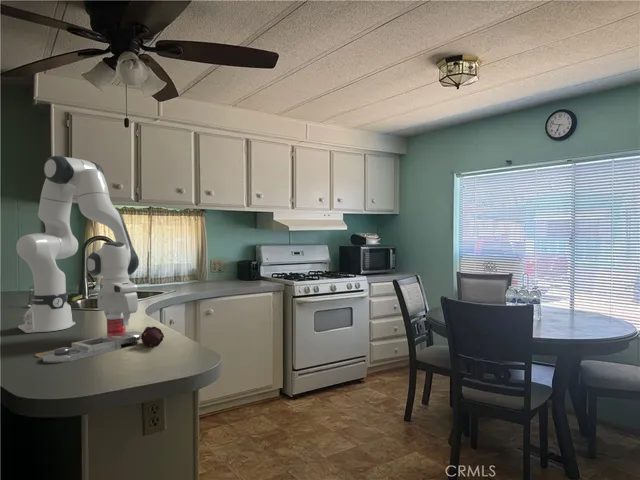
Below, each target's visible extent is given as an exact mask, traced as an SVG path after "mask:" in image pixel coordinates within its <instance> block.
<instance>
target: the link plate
mask: <svg viewBox="0 0 640 480" xmlns="http://www.w3.org/2000/svg"><path fill="white" fill-rule="evenodd" d="M54 350H55V349H53V350H48V351H42V352H39V353H38V352H37V353H35V355H34V356H35V357H36V358H40V359H42V358H43V355H45V354H47V353H50V352H54Z"/></svg>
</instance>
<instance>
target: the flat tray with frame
mask: <svg viewBox="0 0 640 480" xmlns="http://www.w3.org/2000/svg"><path fill="white" fill-rule="evenodd" d="M142 333H143V332H142V331H126V332H122V333H117V334H112V335H107V334H106V335H103V336H100V337H94V338H89V339H84V340H79V341H75V342H71V347H67V346H65V347H58V348H55V349H53V350H54V352H50V353H47V354H45V355H43V357H42V363H44V364H63V363H68V362H72V361H76V360H81V359H85V358H89V357H93V356H97V355H102V354H105V353H110V352H113V351H117V350H121V349H122V346H130V345H136V344H137V343H138V341H139V340H142V339H141V335H142Z"/></svg>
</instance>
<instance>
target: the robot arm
mask: <svg viewBox="0 0 640 480" xmlns="http://www.w3.org/2000/svg"><path fill="white" fill-rule="evenodd" d="M43 173H44V176H45V177H46V178H45V180H44V183H43V186H42V189H41V193H40V200H39V207H38V213H37V216H38V217H37V218H39V219H40V220H41V222H43V223H44V226H45V227H44V228H45V232H34V233H29V234H26V235H23V236H21V237H19V239H18V240H17V242H16V247H15V248H16V253H17V255H18V256H19V257H20V258H21V259H23V260H24V261H25V262H26V264H27V265H28V267H29V269H30V271H31V273H32V277H33V289H34V291H33V292H34V294H33V295H32V299H31V301H32V303H31V304H32V305H31V306H30V307H29V308H28V310H27V311H26V312H25V313H24V314H23V315H22V321H23V322H24V323H23V324H19V325H18V327H17V328H18V330H19V329H20V330H21V331H23V332H24V333H27V334H28V333H43V332H44V333H45V332H54V331H55V332H56V331H61V330H65V329H66V330H67V329H69V328H71V327H72V326H74V325H76V322H75V321H73V316H72V308H71V305H70V304H69V303H68V297H69V296H68V293H67V284H66V283H67V281H66V278H67V277H66V274H65V273H64V271H62V270H61V269H60V268H59V267H58V265H57V261H56V260H64V259H67V258H70V257H72V256H74V255H75V254H76V253H77V252H78V250H79V241H78V239H77V238H76V236H74V234H73V232H72V228H71V221H70V220H71V213H72V212H71V211H72V206H73V205H72V204H73V198H74V197H73V196H74V192H75V190H76V197H77V198H76V199H77V204H78V208H79V211H80V212H81V214H82V216H84V217H85V218H87V219H89V220H91V221H93V222H95V223H99V224H102V225H104V226H105V227H107V228H108V229H110V230H111V232H112V233H113V236H114V240H115V241H112V240H111V241H106V242H103V243H102V245H101V247H100V248H99V249H98V250H95V251H92V252H91V253H90V254H89V255H88V256H87V258H86V261H85V262H86V264H85V265H86V269H87V272H88V273H89V274H90V275H92V276H93V277H98V278H99V277H102V279H101V280H102V285H101V286H100V287H99V291H98V293H97V309H98V310H99V311H102V312H103V311H104V313H103V314H104V316H105V318H106V319H107V316H108V315H109V314H110V313H109V309H114V310H115V312H118V313H122V314H123V316H124V317H123V320H122V325H124V326H125V327H126V326H129V320H130V317H131V314H134V313H136V312H137V311H138V310H139V309H138V308H139V306H138V305H139V301H138V299H139V298H138V293H137V292H138V285H137V284H136V283H134V282H132V281H131V280H130V276H131V275H133V273H135V272H136V271H137V269H138V268H139V265H140V260H139V256H138V254H137V252H136V249H134V246H133V243H132V240H131V237H130V234H129V231H128V227H127V226H126V223H125V219H124V217H123V214H122V213H121V212H120V211H119V210H118V209H116V207H115V206H114V205H113V203H112V200H111V197H110V193H109V192H110V191H109V188H108V184H107V181H106V178H105V175H104V169H103V167H102V166H101V165H100V164H98V163H96V162H93V161H89V160H85V159H82V158H77V157H76V158H74V157H69V156H68V157H67V156H63V155H52V156H50V157H48V158H47V159H46V161H45V163H44V165H43Z"/></svg>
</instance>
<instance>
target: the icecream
mask: <svg viewBox="0 0 640 480" xmlns="http://www.w3.org/2000/svg"><path fill="white" fill-rule="evenodd" d="M164 338H165V334H164V333H163V331H162V329H160V328H159V327H156V326H146V327H145V328H144V330H143V332H142V335H141V339H140V340H141V341H142V344H143V346H146V347H148V348H150V347H151V348H155V346H156V347H158V346H159V345H160V344H161V343H162V342H163V341H164Z"/></svg>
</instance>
